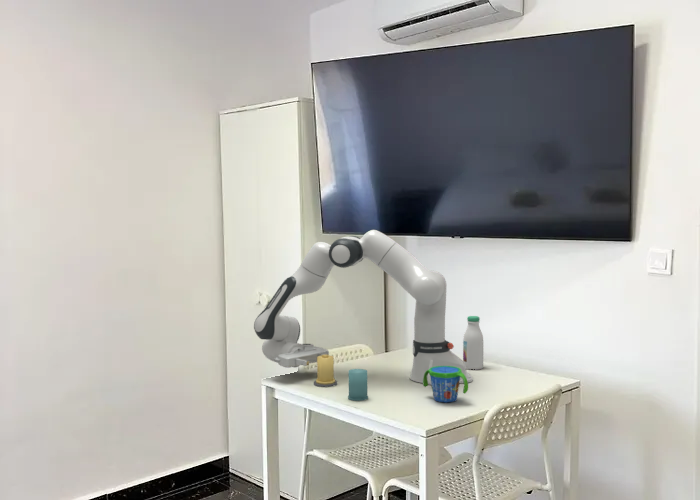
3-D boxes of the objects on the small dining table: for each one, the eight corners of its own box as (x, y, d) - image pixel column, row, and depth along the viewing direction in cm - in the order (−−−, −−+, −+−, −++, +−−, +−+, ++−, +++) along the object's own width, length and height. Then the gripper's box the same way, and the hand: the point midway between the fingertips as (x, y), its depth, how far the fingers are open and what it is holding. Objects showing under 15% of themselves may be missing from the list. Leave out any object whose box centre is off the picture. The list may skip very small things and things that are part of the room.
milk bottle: (486, 367, 271) (486, 316, 270) (478, 371, 265) (479, 319, 263) (467, 364, 275) (468, 314, 274) (459, 368, 269) (460, 317, 268)
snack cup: (416, 398, 228) (416, 368, 228) (435, 392, 236) (435, 362, 235) (455, 408, 218) (455, 376, 217) (474, 401, 225) (474, 370, 225)
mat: (336, 380, 252) (336, 378, 252) (337, 386, 244) (337, 384, 244) (313, 381, 252) (313, 379, 252) (313, 387, 243) (313, 385, 243)
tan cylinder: (334, 379, 252) (334, 352, 251) (335, 384, 245) (335, 357, 244) (315, 379, 251) (315, 353, 250) (316, 384, 244) (316, 357, 244)
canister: (367, 394, 233) (366, 368, 233) (369, 400, 227) (368, 373, 226) (347, 395, 233) (347, 368, 232) (348, 401, 226) (348, 373, 226)
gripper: (271, 350, 253) (294, 357, 243) (314, 342, 267) (338, 348, 257) (271, 367, 253) (294, 374, 243) (314, 359, 267) (338, 365, 257)
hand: (317, 361), depth 250 cm, fingers open, 8 cm apart
